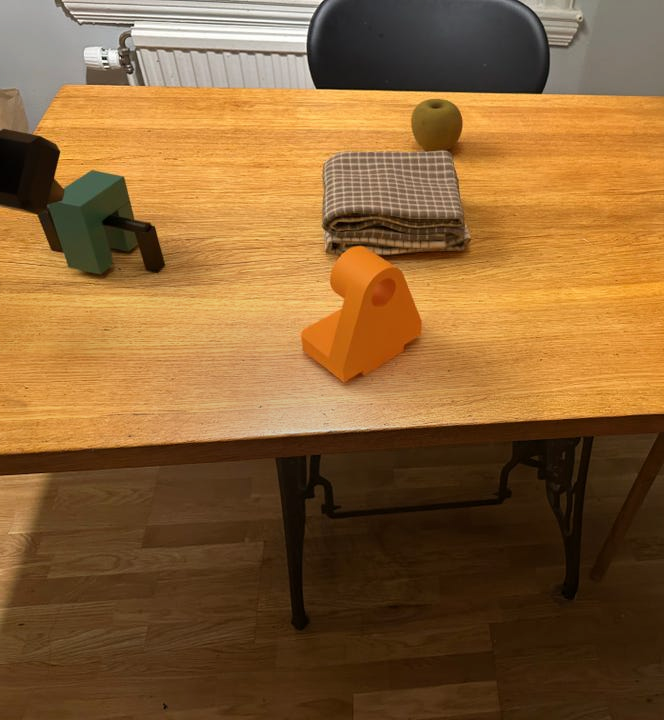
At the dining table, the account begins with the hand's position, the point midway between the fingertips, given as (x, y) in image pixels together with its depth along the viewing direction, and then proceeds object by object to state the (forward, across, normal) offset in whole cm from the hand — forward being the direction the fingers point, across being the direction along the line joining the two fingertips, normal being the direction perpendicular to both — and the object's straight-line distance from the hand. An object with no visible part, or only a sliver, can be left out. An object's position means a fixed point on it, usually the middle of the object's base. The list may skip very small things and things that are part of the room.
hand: (18, 186), depth 66 cm
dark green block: (+15, 0, +4) cm, 15 cm away
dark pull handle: (+15, 0, +4) cm, 16 cm away
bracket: (+12, -33, +8) cm, 36 cm away
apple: (+45, -29, -25) cm, 59 cm away
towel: (+28, -29, -9) cm, 41 cm away
